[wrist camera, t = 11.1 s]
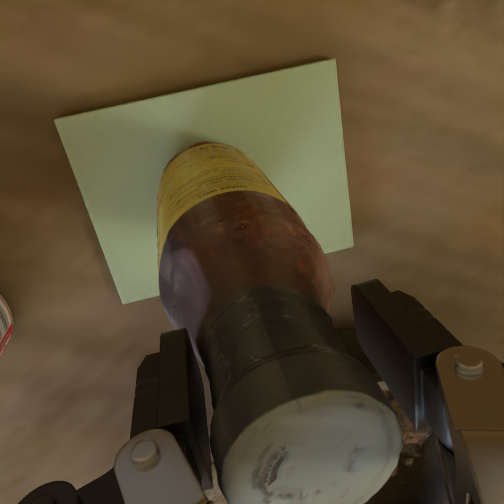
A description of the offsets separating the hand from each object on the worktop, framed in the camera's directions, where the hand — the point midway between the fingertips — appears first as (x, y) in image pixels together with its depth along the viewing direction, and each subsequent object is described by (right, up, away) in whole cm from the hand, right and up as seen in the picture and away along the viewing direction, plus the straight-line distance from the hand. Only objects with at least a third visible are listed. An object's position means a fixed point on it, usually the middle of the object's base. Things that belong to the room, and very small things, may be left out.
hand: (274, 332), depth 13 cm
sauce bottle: (-3, +6, +14) cm, 16 cm away
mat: (-3, +6, +14) cm, 16 cm away
